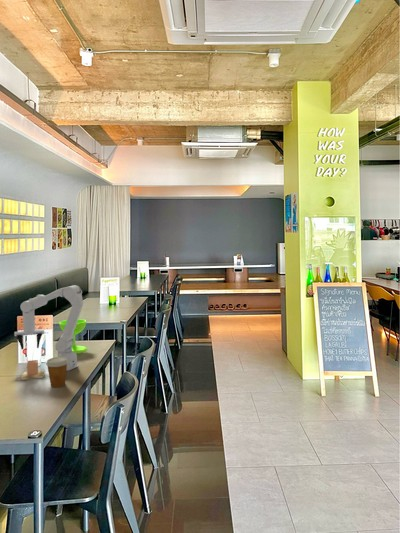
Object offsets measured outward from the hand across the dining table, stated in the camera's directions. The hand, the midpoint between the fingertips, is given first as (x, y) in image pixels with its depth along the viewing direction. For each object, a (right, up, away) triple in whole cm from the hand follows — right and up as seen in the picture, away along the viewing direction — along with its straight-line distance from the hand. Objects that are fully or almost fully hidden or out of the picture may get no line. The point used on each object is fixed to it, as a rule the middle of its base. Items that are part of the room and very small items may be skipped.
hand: (30, 348), depth 215 cm
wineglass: (+13, -8, +33) cm, 37 cm away
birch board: (+7, -11, -14) cm, 20 cm away
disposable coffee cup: (+24, -12, -27) cm, 38 cm away
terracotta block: (+7, -10, -14) cm, 19 cm away
